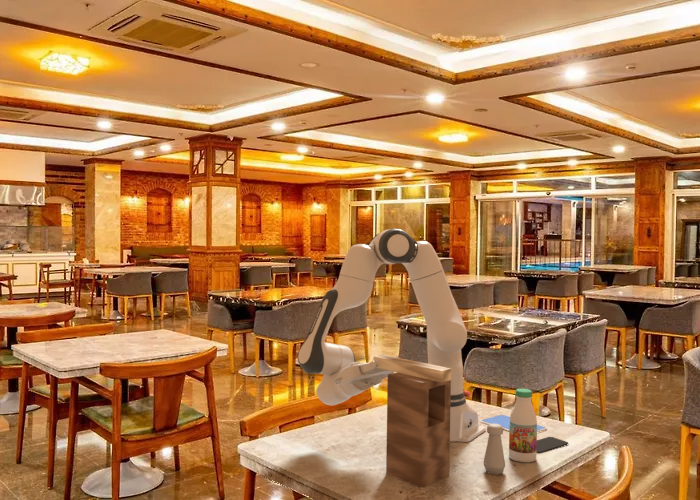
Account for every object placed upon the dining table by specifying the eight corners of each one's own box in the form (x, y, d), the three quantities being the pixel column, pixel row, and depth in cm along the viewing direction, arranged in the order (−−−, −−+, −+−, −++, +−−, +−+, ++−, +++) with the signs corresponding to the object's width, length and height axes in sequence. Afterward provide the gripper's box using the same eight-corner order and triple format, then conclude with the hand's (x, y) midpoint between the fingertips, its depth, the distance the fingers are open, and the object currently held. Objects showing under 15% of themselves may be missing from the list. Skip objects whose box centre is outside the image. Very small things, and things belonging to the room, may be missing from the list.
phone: (518, 445, 189) (550, 436, 198) (518, 448, 189) (550, 438, 198) (538, 452, 183) (570, 442, 192) (538, 455, 183) (570, 445, 192)
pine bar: (383, 364, 178) (383, 354, 177) (451, 380, 160) (451, 368, 160) (373, 366, 175) (373, 356, 175) (441, 382, 158) (442, 370, 158)
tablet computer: (478, 423, 214) (478, 419, 214) (501, 417, 221) (501, 413, 221) (525, 438, 198) (525, 434, 198) (548, 431, 206) (548, 427, 206)
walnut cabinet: (414, 462, 175) (416, 368, 174) (449, 475, 166) (450, 375, 165) (386, 474, 166) (387, 374, 165) (421, 487, 158) (422, 382, 157)
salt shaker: (505, 477, 165) (506, 428, 165) (483, 475, 167) (484, 427, 166) (504, 468, 171) (505, 422, 171) (483, 467, 172) (484, 420, 172)
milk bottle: (505, 453, 183) (506, 386, 182) (530, 453, 184) (531, 386, 183) (514, 463, 175) (515, 393, 175) (540, 463, 176) (542, 393, 175)
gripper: (326, 373, 176) (357, 355, 168) (375, 363, 191) (405, 346, 182) (334, 394, 174) (365, 377, 165) (383, 382, 189) (413, 366, 180)
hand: (386, 361), depth 174 cm, fingers open, 7 cm apart
